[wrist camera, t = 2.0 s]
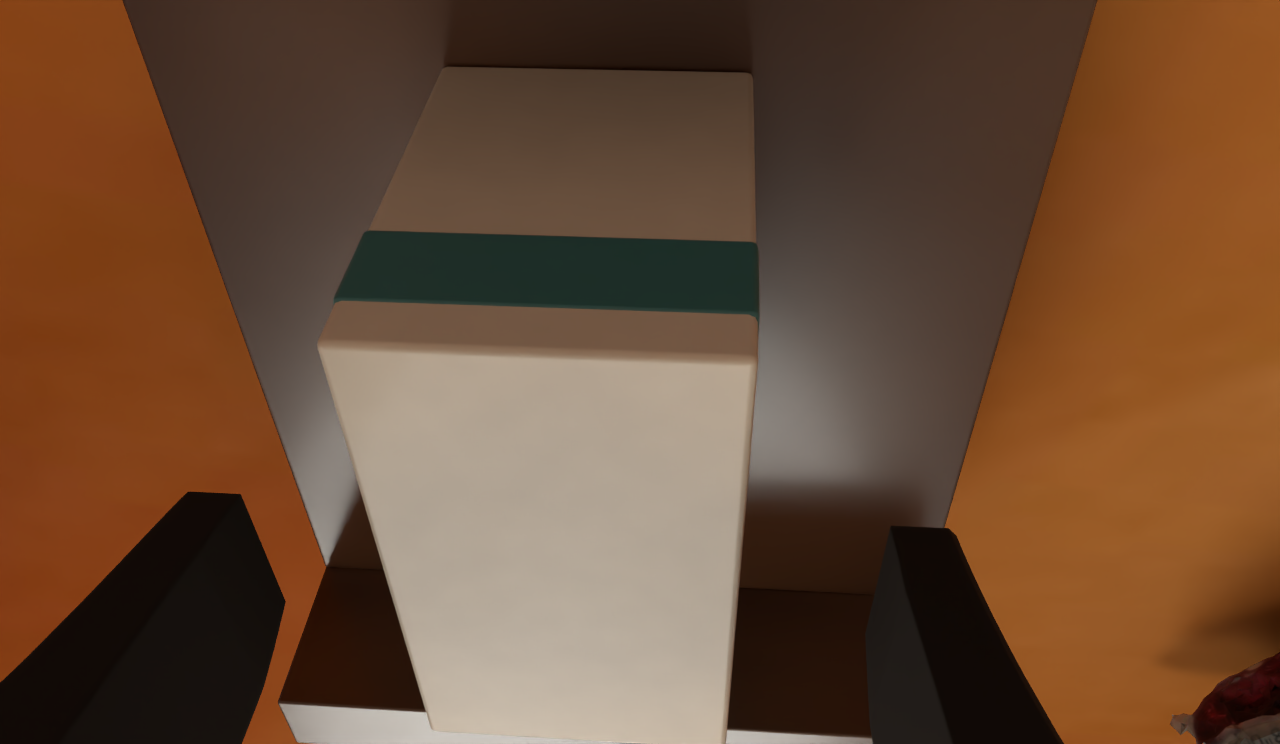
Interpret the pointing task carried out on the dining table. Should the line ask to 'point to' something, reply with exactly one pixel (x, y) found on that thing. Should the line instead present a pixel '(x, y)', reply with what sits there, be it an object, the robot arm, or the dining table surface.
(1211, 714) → the packaged food
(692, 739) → the tea box
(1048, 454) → the dining table surface
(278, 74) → the walnut shelf
